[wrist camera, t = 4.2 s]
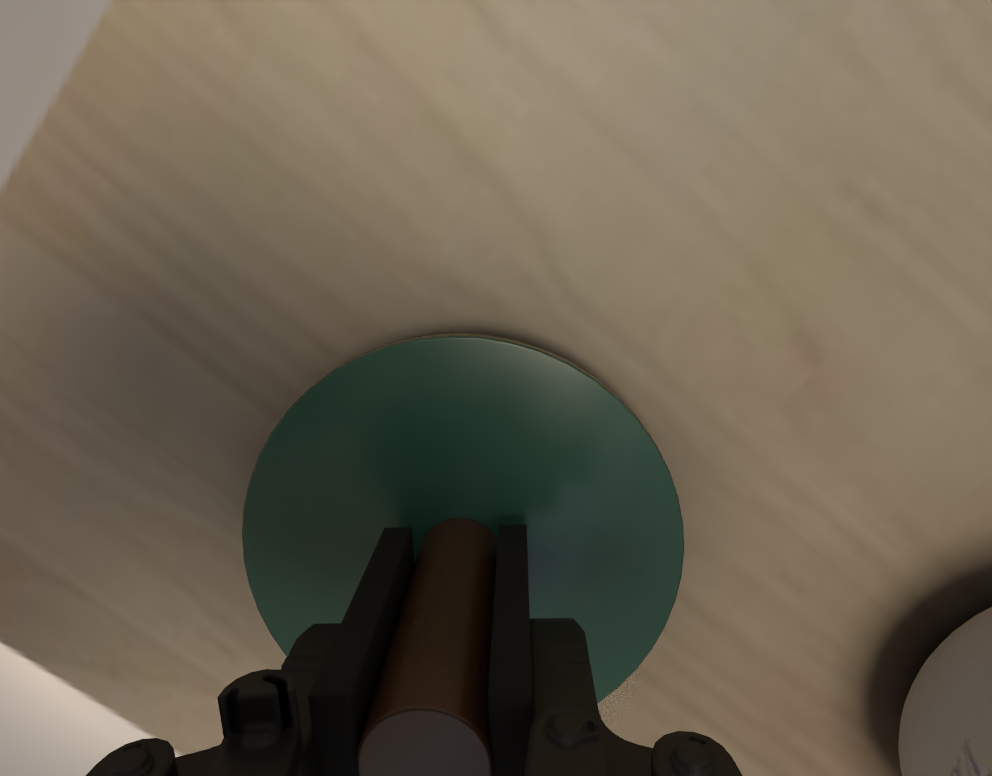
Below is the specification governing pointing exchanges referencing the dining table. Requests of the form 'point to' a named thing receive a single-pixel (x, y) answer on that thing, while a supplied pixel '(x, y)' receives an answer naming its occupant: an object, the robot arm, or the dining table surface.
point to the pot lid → (462, 526)
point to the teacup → (951, 707)
